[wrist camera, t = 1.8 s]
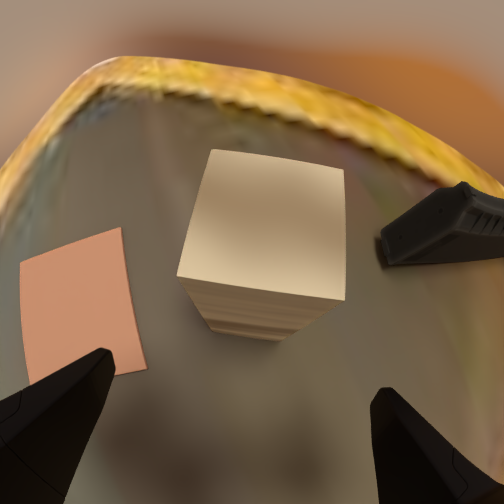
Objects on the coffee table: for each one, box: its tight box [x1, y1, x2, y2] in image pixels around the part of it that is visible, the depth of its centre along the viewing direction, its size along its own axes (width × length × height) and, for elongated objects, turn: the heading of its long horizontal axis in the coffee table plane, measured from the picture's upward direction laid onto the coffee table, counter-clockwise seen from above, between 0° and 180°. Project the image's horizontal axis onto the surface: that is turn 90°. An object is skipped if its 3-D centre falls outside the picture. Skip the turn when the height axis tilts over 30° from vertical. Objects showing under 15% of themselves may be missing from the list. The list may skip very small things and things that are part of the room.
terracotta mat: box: [20, 227, 148, 385], centre depth 19 cm, size 12×12×1 cm
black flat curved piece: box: [380, 181, 504, 265], centre depth 20 cm, size 17×3×30 cm
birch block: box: [177, 149, 346, 341], centre depth 15 cm, size 5×5×13 cm
